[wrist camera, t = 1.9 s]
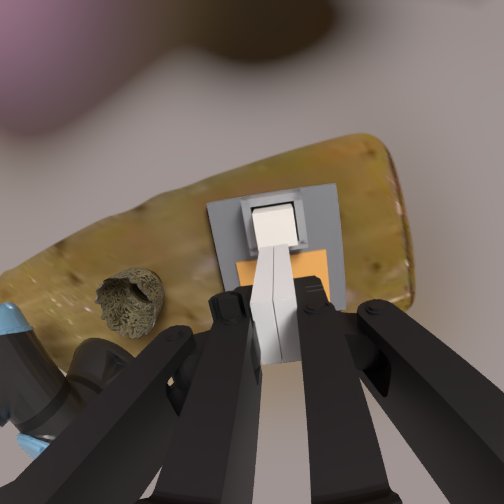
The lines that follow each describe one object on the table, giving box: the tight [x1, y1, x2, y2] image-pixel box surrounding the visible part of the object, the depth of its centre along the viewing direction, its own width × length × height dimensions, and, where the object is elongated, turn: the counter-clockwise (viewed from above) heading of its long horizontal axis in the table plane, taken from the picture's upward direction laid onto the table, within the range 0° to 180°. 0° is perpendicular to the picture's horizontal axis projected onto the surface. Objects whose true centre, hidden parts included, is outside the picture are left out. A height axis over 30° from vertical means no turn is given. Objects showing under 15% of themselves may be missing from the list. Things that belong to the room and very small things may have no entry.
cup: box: [95, 268, 164, 339], centre depth 31 cm, size 8×7×8 cm
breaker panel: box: [207, 183, 346, 311], centre depth 31 cm, size 14×15×4 cm
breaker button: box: [252, 203, 298, 251], centre depth 27 cm, size 4×3×3 cm
